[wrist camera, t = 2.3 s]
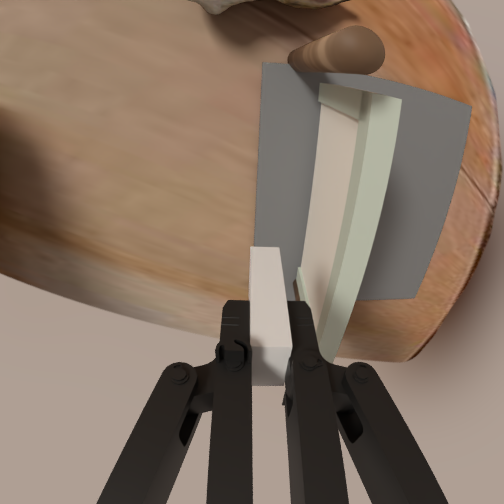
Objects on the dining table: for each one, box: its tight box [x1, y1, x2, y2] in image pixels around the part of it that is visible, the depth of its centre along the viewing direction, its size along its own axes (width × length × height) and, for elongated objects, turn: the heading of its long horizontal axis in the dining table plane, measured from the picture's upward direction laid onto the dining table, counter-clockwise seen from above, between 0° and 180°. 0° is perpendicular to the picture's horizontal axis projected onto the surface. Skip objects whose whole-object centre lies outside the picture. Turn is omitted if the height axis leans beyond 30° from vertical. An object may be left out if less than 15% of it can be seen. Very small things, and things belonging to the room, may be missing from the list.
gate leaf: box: [296, 83, 402, 363], centre depth 24 cm, size 22×2×12 cm, turn 178°
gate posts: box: [288, 26, 385, 301], centre depth 24 cm, size 2×28×16 cm, turn 3°
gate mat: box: [254, 62, 472, 301], centre depth 32 cm, size 24×28×1 cm
